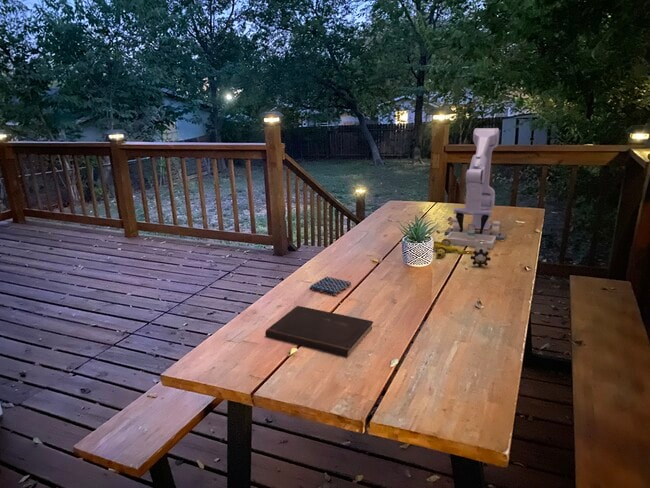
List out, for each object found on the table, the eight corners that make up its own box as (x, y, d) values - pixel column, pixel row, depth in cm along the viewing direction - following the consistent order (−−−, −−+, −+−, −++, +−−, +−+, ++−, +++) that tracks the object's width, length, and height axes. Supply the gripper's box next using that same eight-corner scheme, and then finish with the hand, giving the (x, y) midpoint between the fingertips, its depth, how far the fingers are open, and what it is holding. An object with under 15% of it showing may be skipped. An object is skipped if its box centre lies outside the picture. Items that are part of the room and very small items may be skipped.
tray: (450, 237, 191) (450, 231, 191) (495, 242, 183) (495, 236, 183) (445, 244, 183) (445, 238, 182) (492, 249, 175) (492, 243, 174)
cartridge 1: (452, 232, 198) (453, 217, 196) (459, 233, 197) (460, 217, 194) (451, 234, 195) (452, 218, 193) (458, 235, 194) (459, 219, 192)
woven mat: (353, 286, 145) (353, 281, 145) (335, 298, 137) (335, 292, 136) (326, 280, 151) (326, 275, 150) (307, 291, 142) (307, 286, 142)
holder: (448, 230, 201) (448, 227, 200) (505, 236, 190) (506, 233, 190) (444, 235, 195) (444, 231, 194) (503, 241, 184) (504, 237, 184)
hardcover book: (297, 312, 129) (297, 305, 128) (373, 329, 118) (373, 321, 118) (265, 338, 115) (264, 330, 115) (347, 359, 105) (347, 350, 104)
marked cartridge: (467, 240, 185) (468, 223, 183) (475, 241, 184) (476, 224, 182) (466, 242, 183) (467, 225, 181) (473, 243, 181) (475, 226, 179)
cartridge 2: (491, 236, 191) (492, 220, 189) (499, 237, 190) (500, 221, 187) (490, 238, 188) (491, 222, 186) (498, 239, 187) (499, 222, 185)
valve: (471, 255, 169) (469, 266, 158) (472, 239, 167) (471, 248, 156) (489, 257, 167) (489, 268, 156) (491, 240, 165) (491, 250, 154)
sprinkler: (418, 245, 168) (427, 233, 181) (416, 255, 170) (425, 242, 183) (471, 257, 161) (476, 244, 174) (469, 267, 163) (474, 254, 176)
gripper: (452, 199, 178) (450, 233, 182) (491, 202, 172) (488, 236, 176) (456, 196, 184) (454, 228, 188) (494, 198, 178) (491, 232, 182)
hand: (471, 232), depth 182 cm, fingers open, 7 cm apart
